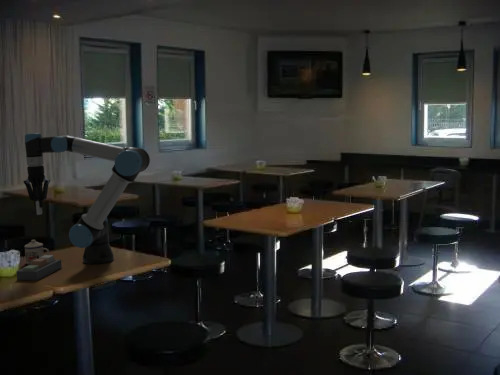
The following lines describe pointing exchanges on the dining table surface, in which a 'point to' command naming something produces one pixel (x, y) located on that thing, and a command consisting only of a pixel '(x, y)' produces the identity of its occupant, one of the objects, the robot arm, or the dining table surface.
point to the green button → (31, 268)
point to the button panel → (39, 271)
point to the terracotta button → (39, 262)
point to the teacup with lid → (34, 251)
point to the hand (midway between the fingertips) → (39, 214)
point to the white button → (48, 258)
